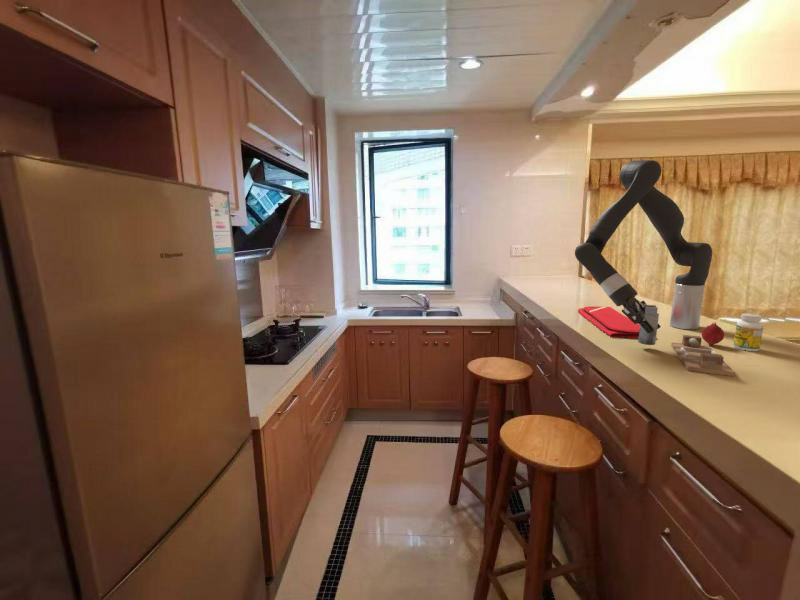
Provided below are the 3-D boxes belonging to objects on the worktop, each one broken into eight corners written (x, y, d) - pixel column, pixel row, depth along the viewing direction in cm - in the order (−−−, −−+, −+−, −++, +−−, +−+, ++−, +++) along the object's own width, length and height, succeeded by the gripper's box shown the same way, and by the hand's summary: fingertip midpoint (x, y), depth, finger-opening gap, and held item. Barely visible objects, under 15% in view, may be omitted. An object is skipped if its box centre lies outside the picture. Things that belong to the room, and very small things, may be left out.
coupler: (637, 339, 125) (641, 304, 122) (654, 341, 122) (658, 305, 120) (638, 344, 120) (642, 307, 118) (656, 345, 118) (660, 308, 116)
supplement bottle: (765, 351, 117) (771, 317, 115) (746, 352, 117) (751, 317, 115) (746, 345, 123) (751, 312, 121) (727, 345, 123) (733, 313, 121)
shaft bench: (671, 345, 124) (673, 331, 123) (708, 349, 120) (710, 334, 119) (688, 370, 103) (690, 353, 102) (734, 376, 98) (737, 358, 98)
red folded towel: (609, 338, 135) (609, 329, 134) (576, 313, 174) (577, 305, 174) (656, 340, 132) (657, 330, 131) (612, 314, 172) (613, 306, 171)
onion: (726, 348, 121) (730, 324, 119) (706, 347, 122) (710, 324, 120) (715, 342, 126) (718, 320, 125) (696, 342, 127) (699, 319, 126)
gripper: (618, 285, 119) (657, 328, 112) (635, 280, 128) (673, 320, 121) (600, 299, 124) (636, 341, 117) (618, 293, 133) (652, 332, 126)
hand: (654, 330), depth 119 cm, fingers closed on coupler, 4 cm apart
